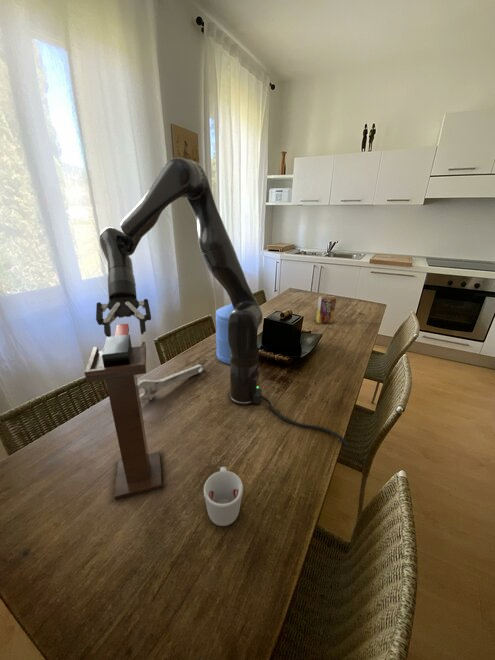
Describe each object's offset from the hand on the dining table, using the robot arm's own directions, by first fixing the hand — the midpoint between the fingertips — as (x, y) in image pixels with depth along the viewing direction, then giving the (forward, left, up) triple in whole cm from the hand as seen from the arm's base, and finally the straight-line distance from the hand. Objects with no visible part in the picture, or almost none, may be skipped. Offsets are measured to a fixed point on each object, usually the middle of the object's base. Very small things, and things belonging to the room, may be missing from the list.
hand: (126, 335), depth 78 cm
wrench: (-5, -15, -27) cm, 31 cm away
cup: (-35, +24, -27) cm, 50 cm away
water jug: (-21, -42, -27) cm, 54 cm away
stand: (-13, +21, -27) cm, 36 cm away
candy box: (-62, -95, -27) cm, 117 cm away
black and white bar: (-10, +16, +5) cm, 20 cm away
